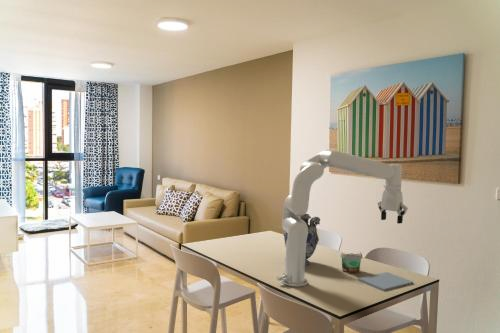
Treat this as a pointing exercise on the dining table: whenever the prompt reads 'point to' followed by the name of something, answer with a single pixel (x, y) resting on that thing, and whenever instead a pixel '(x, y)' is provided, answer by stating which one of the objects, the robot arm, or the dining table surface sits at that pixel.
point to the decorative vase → (309, 235)
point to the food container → (351, 263)
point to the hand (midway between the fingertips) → (391, 221)
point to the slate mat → (385, 281)
